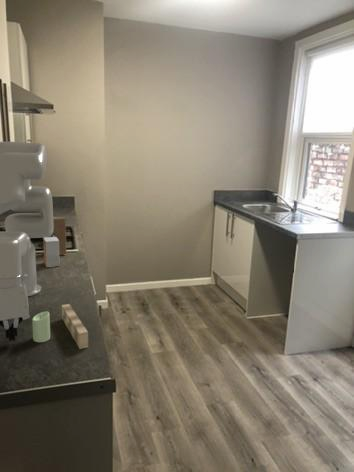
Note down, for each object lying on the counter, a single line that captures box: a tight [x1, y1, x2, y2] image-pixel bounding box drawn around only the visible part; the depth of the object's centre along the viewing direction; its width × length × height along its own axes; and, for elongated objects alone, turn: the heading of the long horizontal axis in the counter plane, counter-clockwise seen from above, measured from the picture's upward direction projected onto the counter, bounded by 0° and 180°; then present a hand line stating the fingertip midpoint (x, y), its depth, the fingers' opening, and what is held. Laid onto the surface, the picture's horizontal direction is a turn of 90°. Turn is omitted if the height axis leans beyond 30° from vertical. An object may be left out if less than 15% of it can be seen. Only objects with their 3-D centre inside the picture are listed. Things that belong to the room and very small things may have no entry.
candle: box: [31, 311, 51, 343], centre depth 117 cm, size 5×5×8 cm
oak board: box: [61, 303, 89, 350], centre depth 122 cm, size 22×2×5 cm, turn 30°
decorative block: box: [43, 216, 67, 256], centre depth 199 cm, size 11×6×20 cm, turn 113°
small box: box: [42, 236, 61, 268], centre depth 184 cm, size 8×6×13 cm
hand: (11, 339), depth 113 cm, fingers closed
